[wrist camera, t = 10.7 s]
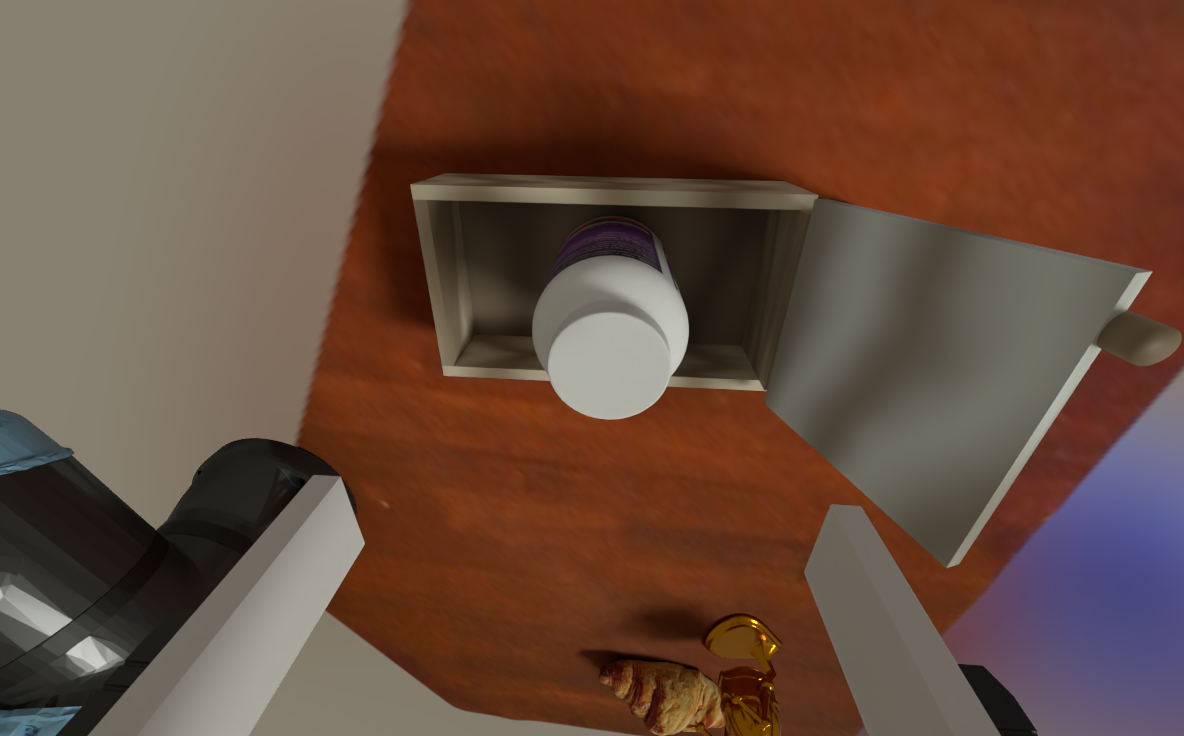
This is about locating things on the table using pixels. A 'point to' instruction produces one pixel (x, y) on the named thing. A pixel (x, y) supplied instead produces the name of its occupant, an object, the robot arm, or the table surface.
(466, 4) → the table surface
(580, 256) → the pill bottle
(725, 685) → the figurine
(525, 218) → the grey wooden hinged box
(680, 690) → the croissant
